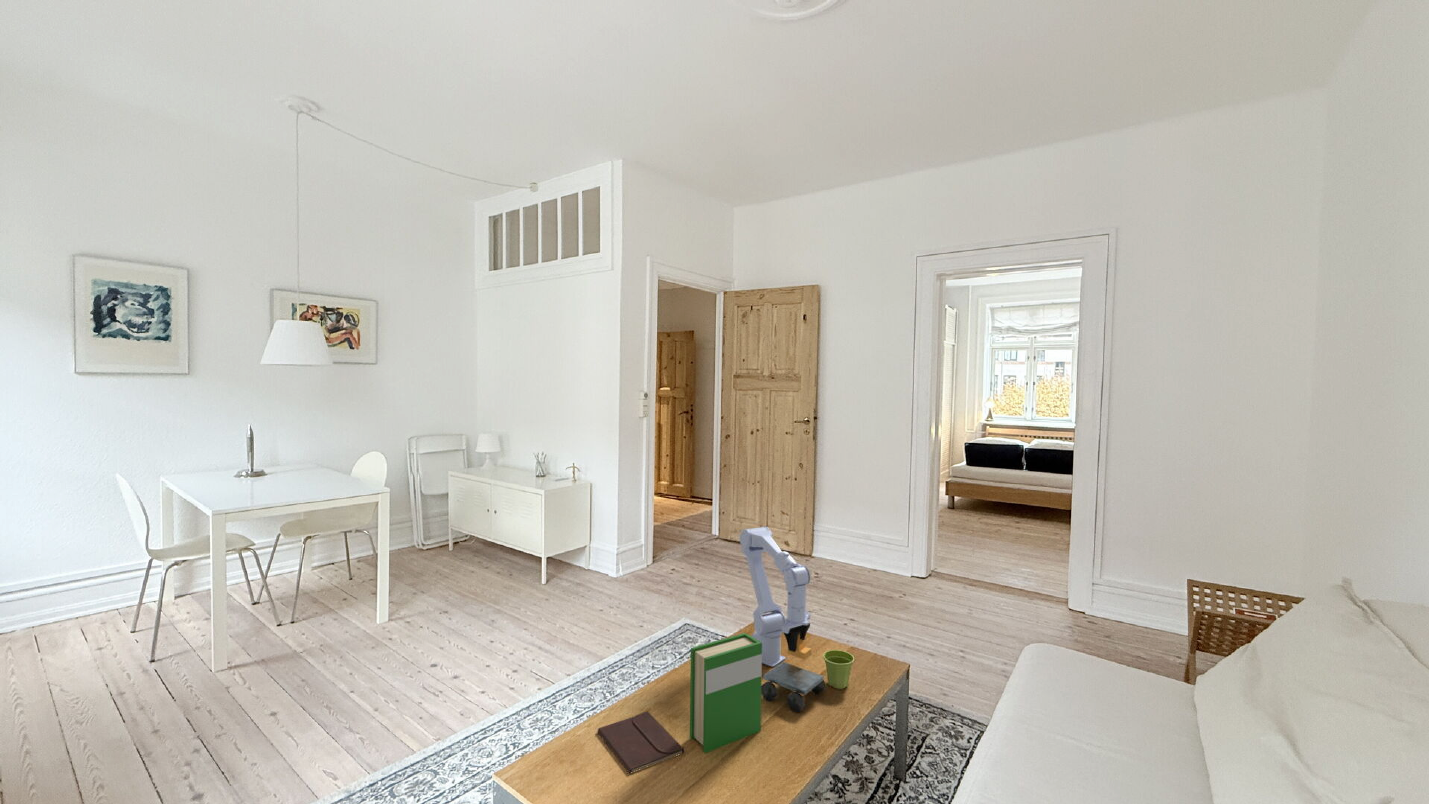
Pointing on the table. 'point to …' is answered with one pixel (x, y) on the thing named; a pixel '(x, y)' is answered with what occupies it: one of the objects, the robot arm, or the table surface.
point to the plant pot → (838, 667)
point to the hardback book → (725, 691)
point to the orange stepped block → (800, 650)
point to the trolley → (792, 684)
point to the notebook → (640, 741)
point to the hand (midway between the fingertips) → (795, 648)
